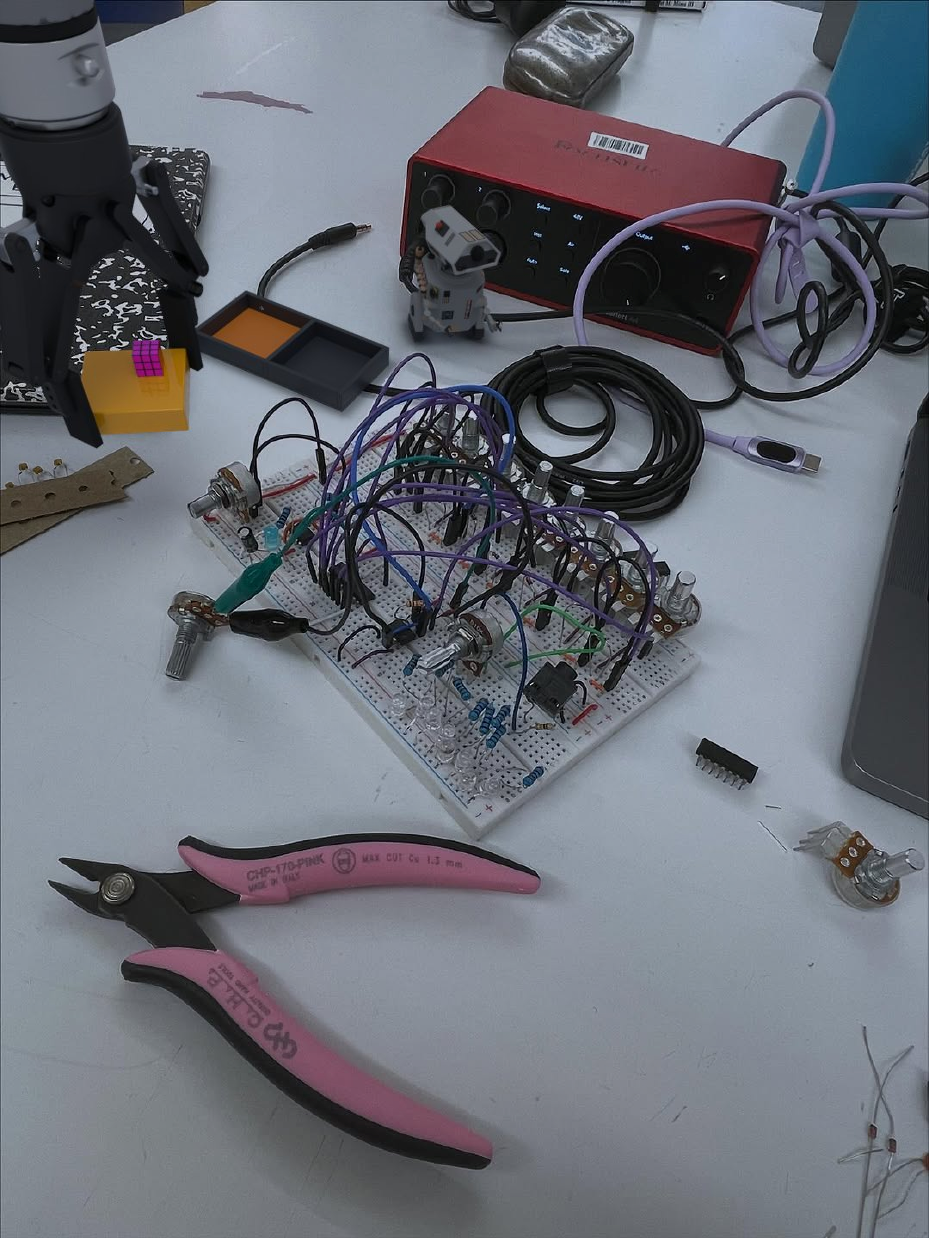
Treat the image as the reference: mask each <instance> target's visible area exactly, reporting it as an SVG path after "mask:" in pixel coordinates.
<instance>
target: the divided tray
mask: <svg viewBox="0 0 929 1238" xmlns="http://www.w3.org/2000/svg"><path fill="white" fill-rule="evenodd" d="M258 306H262V307H263V308H264V310H261V309H259V308H258ZM195 328H196V333H197V337H198V342H199V347H200V352H201V353H203V354H205V355H208V356H210V357H212V358H214V359H217V360H219V361H222V362H223V363H226V364H228V365H230V366H231V365H232V366H233V367H236V368H239V369H241V370H243V371H245V372H248V373H250V374H252V375H255V376H257V377H259V378H262V379H264V380H266V381H269V382H271V383H274V384H276V385H279V386H281V387H283V388H285V389H288V390H290V391H292V392H295V393H297V394H300V395H301V396H304V397H306V398H308V399H311V400H313V401H317V402H319V403H321V404H323V405H325V406H328V407H330V408H333V409H335V410H337V411H340V412H343V411H345V410H346V408H348V407H349V405H350V404H351V403H352V402H354V400H355V399H357V397H358V396H359V395H361V393H362V392H363V391H364V390H365V389H366V388H367V387H368V386H369V385H370V384H371V383H372V382H374V380H376V378H377V377H379V375H380V374H381V373H383V371H384V370H385V369H386V368H387V367H388V366H389V365H390V346H388V345H385V344H383V343H380V342H377V341H375V340H372V339H369V338H367V337H365V336H363V335H359V334H357V333H354V332H352V331H350V330H347V329H345V328H342V327H340V326H337V325H334V324H333V323H329V322H327V321H325V320H322V319H319V318H317V317H314V316H312V315H309V314H307V313H304V312H302V311H299V310H297V309H294V308H292V307H290V306H286V305H284V304H281V303H279V302H277V301H274V300H271V299H269V298H266V297H264V296H263V295H259V294H257V293H254V292H251V291H249V290H247V289H246V290H244V291H243V292H241V293H240V294H238V295H237V296H236V297H234V298H233V299H232V300H231V301H229V302H228V303H227V304H226V305H224V306H223V307H221V308H220V309H219V310H217V311H216V312H215V313H214V314H212V315H210V317H208V318H206V320H204V321H203V322H201V323H200V324H198V325H197V326H195Z"/></svg>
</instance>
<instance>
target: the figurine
mask: <svg viewBox="0 0 929 1238" xmlns="http://www.w3.org/2000/svg"><path fill="white" fill-rule="evenodd" d="M420 219H421V220H420V221H421V222H422V224H423V226H424V228H425V241H426V244H427V246H426V245H425V244H421V245H419V246H417V247H416V248H415V253H414V265H413V270H412V271H413V272H412V273H413V274H414V275H415V277H416V278H417V279H416V281H417V283H418V291H412V292H411V296H410V301H409V302H410V303H409V313H408V315H407V322H408V325H409V328H410V331H411V334H412V338H413V340H414V341H415V342H418V341H419V342H420V341H425V329H424V326H426V327H428V328H429V329H431V330H432V331H433V332H435V333H446V334H447V336H448V338H452V337H453V336H454V335H455V334H451V333H460V332H465V331H470V329H471V333H472V335H473V338H474V339H481V338H482V339H483V338H484V337H485V327H484V325H485V322H486V324H487V327H488V331H489V332H490V333H491V334H494V333H495V332H497V331H499V332H500V333H502V330H503V329H502V327H501V325H503V321H502V318H499V320H498V322H496V320H495V319H493V317H492V314H491V309H490V308H489V307H488V298H487V296H486V295H485V291H484V288H485V283H486V277H485V276H486V275H485V272H484V270H483V269H487V268H492V267H495V266H498V263H499V260H500V257H501V254H502V252H501V251H500V250H499V249H498V248H497V247H496V246H495V245H494V243H495V240H494V238H493V237H492V236H490V235H489V234H488V233H486V232H484V233H481V231H480V230H478V229H477V228H476V227H475V226H474V225H473V224H471V223H470V222H469V221H468V220H467V219H466V218H465V217H464V216H463V215H461V214H460V212H458V211H457V210H456V209H455V208H454V207H453V206H452V205H451V204H448V205H443V206H438V207H434V208H430V209H428V211H426V212H424V213H422V215H421V216H420ZM424 248H425V249H426V250H427V253H426V254H425V255H424V252H425V249H424Z"/></svg>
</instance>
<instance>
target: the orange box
mask: <svg viewBox="0 0 929 1238" xmlns="http://www.w3.org/2000/svg"><path fill="white" fill-rule="evenodd" d="M131 348H132V349H124V350H123V349H121V350H119V349H118V350H91V351H89V350H88V351H87V350H86V351H85V352H84V354H83V355H84V356H83V362H82V369H81V376H80V378H81V381H82V384H83V387H84V389H85V392H86V395H87V398H88V401H89V403H90V406H91V409H92V412H93V415H94V417H95V420H96V423H97V426H98V429H99V431H100V434H101V436H105V435H109V436H110V435H125V434H126V435H127V434H145V433H146V434H150V433H168V432H169V433H170V432H188V431H190V399H191V396H190V395H191V392H190V391H191V368H190V366H189V362H188V357H187V353H186V349H184V348H182V349H170V348H162V346H161V341H160V339H143V340H132V347H131Z"/></svg>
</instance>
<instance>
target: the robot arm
mask: <svg viewBox="0 0 929 1238" xmlns="http://www.w3.org/2000/svg"><path fill="white" fill-rule="evenodd" d="M115 98H116V85H115V80H114V76H113V72H112V67H111V63H110V59H109V54H108V50H107V47H106V42H105V38H104V34H103V30H102V25H101V21H100V15H99V13H98V8H97V4H96V2H95V0H0V155H1V159H2V160H3V163H4V167H5V170H6V171H7V174H8V175H9V178H10V179H11V180H12V182H13V184H14V185H15V186H16V188H17V190H18V193H20V196H21V202H22V211H21V219H19V220H17V221H15V222H13V223H11V224H8V225H7V226H5V227H2V226H0V342H1V352H2V353H1V355H2V357H1V358H2V369H3V372H4V373H5V374H6V375H7V376H9V377H11V378H13V379H15V380H17V381H19V382H21V383H24V384H26V385H28V386H30V387H32V388H34V389H39V388H41V391H42V393H43V396H44V399H45V400H46V403H47V405H48V407H49V409H51V410H52V411H53V412H55V413H56V414H59V415H61V416H62V418H63V421H64V424H65V426H66V429H67V432H68V434H69V436H70V437H71V438H74V439H76V440H78V441H80V442H82V443H84V444H86V445H88V446H90V447H92V448H94V449H96V450H97V449H99V448H100V447H101V446H102V445H104V444H105V443H104V439H103V438H102V437H103V436H102V435H101V434H100V431H99V429H98V426H97V423H96V420H95V417H94V415H93V412H92V409H91V406H90V403H89V401H88V398H87V395H86V392H85V389H84V387H83V384H82V381H81V376H80V374H79V372H77V371H74V370H72V369H70V368H69V367H70V359H71V354H72V349H73V342H74V336H75V331H76V325H77V317H78V312H79V306H80V299H81V294H82V288H83V286H86V285H87V284H88V283H89V281H90V275H91V272H92V271H91V270H92V268H93V267H94V266H96V265H98V264H99V263H101V262H102V261H103V259H105V257H106V256H107V255H111V254H115V253H116V254H117V253H118V252H119V251H121V250H123V249H124V248H125V249H127V251H128V252H130V254H131V255H132V256H133V257H134V258H136V260H137V261H139V262H140V263H141V264H142V265H143V266H144V267H145V268H146V269H148V270H149V272H151V273H152V275H154V276H155V277H156V278H157V279H158V280H159V281H160V282H161V283H162V284H164V285H166V286H167V288H166V287H163V286H162V287H160V288H159V289H157V290H156V295H157V300H158V304H159V308H160V313H161V316H162V320H163V324H164V329H165V334H166V338H167V341H168V347H169V349H182V348H184V349H186V353H187V357H188V362H189V366H190V370H193V371H196V372H200V371H201V370H202V369H204V362H203V357H202V352H200V347H199V342H198V337H197V333H196V327H198V326H199V315H198V309H197V306H196V300H195V298H197V299H198V298H201V297H202V295H203V294H204V285H203V283H202V282H199V281H197V280H198V279H199V277H202V278H205V277H206V276H208V274H209V271H210V265H209V262H208V261H207V258H206V257H205V255H204V253H203V251H202V249H201V247H200V245H199V243H198V241H197V240H196V239H197V238H196V237H195V235H194V233H193V232H192V229H191V228H190V225H189V224H188V222H187V220H186V218H185V216H184V213H183V212H182V210H181V209H180V207H179V205H178V203H177V201H176V198H175V197H174V195H173V193H172V188H171V184H170V177H169V173H168V169H167V166H166V164H165V163H164V162H160V161H159V160H156V159H154V158H150V157H147V156H146V155H142V154H139V153H137V152H135V151H134V152H132V151H131V146H130V143H129V139H128V135H127V130H126V125H125V122H124V118H123V117H124V116H123V113H122V110H121V108H120V106H119V105H118V104H117V103H116V102H115V101H114V99H115ZM136 197H137V199H138V201H139V202H140V204H141V206H142V208H143V210H144V211H145V213H146V215H147V217H148V218H149V221H150V222H151V223H152V225H153V227H154V229H155V230H156V232H157V234H158V236H159V237H160V239H161V241H162V243H163V245H164V247H165V248H166V250H167V251H168V252H167V251H166V250H165V249H164V248H163V246H161V245H160V244H159V243H158V242H157V240H155V239H154V238H153V237H152V236H153V235H152V233H151V232H150V231H149V229H148V228H146V226H145V225H144V224H142V222H141V221H140V220H139V219H138V218H137V217H136V216H135V215H134V213H133V211H134V207H135V201H136ZM37 243H38V244H37ZM36 247H37V248H36ZM59 256H61V257H62V258H64V259H66V260H68V261H70V266H69V265H67V264H64V263H62V262H60V261H59Z"/></svg>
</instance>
